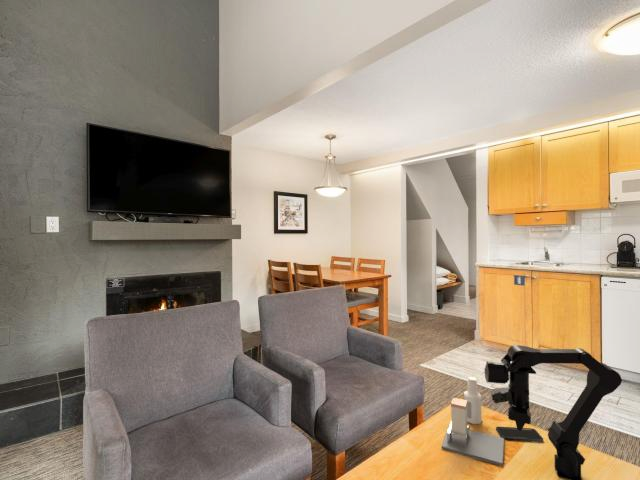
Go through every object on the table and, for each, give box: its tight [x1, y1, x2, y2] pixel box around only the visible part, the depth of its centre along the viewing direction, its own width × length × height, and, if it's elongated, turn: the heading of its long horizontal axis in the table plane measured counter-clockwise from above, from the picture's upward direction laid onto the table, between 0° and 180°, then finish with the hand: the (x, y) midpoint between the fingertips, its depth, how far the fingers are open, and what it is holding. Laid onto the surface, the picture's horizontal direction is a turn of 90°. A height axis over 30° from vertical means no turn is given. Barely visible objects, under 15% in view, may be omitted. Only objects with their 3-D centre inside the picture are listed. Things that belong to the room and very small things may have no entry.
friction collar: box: [446, 422, 470, 447], centre depth 131 cm, size 7×9×4 cm
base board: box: [441, 424, 505, 467], centre depth 129 cm, size 20×16×1 cm
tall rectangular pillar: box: [450, 397, 468, 435], centre depth 131 cm, size 5×5×14 cm
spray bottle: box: [463, 376, 482, 425], centre depth 145 cm, size 7×7×18 cm
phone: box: [495, 426, 544, 443], centre depth 134 cm, size 8×1×15 cm
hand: (519, 429), depth 116 cm, fingers closed
